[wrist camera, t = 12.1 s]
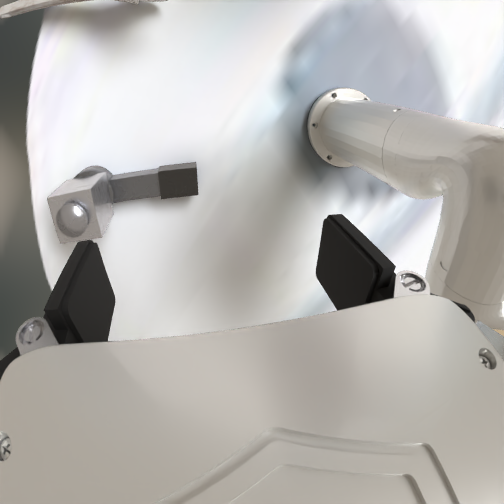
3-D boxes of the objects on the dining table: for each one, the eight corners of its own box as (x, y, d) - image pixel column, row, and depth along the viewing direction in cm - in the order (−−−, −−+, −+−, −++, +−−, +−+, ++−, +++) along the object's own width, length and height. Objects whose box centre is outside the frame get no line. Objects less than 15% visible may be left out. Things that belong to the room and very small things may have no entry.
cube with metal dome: (105, 171, 30) (87, 191, 24) (113, 213, 34) (100, 241, 28) (66, 179, 29) (43, 201, 23) (76, 220, 33) (57, 247, 26)
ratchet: (195, 151, 35) (196, 164, 29) (198, 198, 39) (201, 221, 32) (70, 170, 31) (48, 188, 25) (80, 214, 35) (63, 239, 29)
